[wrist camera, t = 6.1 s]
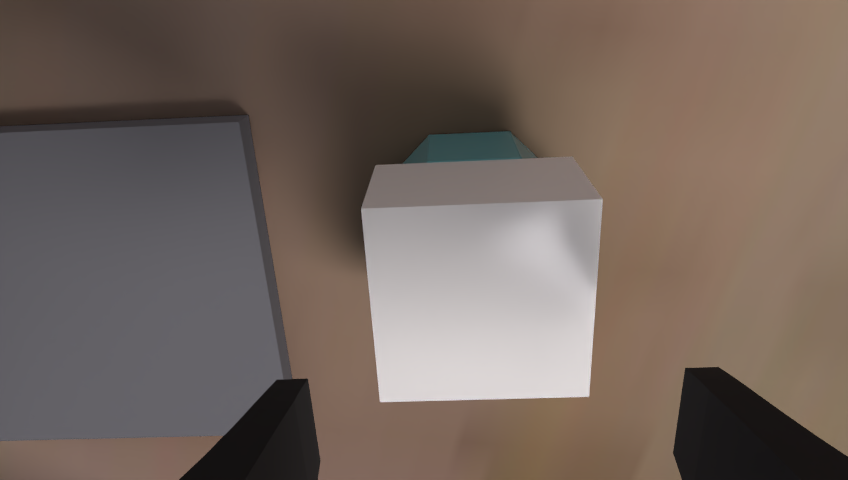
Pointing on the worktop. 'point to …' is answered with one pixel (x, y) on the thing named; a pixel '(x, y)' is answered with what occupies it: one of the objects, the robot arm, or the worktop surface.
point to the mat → (134, 280)
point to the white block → (482, 278)
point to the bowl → (469, 148)
